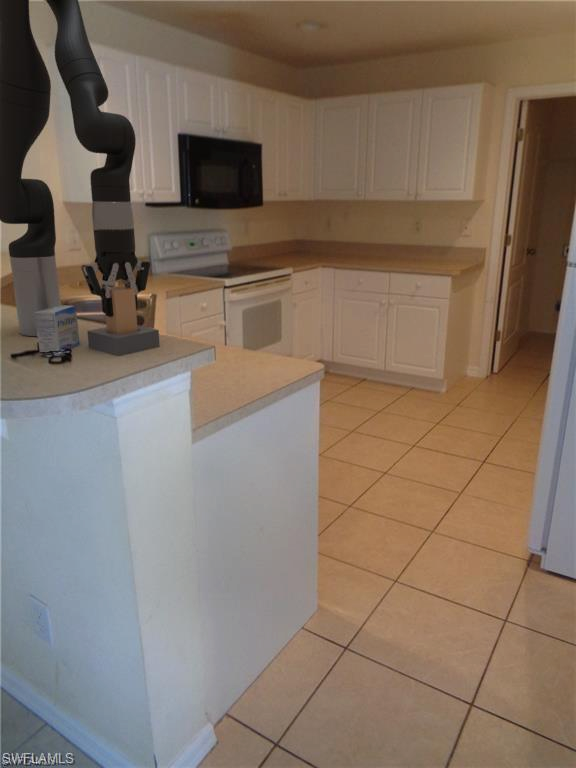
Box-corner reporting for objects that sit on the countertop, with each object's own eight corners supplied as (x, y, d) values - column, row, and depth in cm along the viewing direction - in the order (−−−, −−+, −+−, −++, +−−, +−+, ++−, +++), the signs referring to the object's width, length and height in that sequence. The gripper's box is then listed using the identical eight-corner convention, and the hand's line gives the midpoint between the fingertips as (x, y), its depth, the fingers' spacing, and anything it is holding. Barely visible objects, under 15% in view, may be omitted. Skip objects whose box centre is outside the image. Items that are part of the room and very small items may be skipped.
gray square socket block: (89, 349, 115) (87, 330, 114) (130, 341, 123) (128, 323, 121) (118, 358, 109) (116, 338, 108) (159, 348, 117) (158, 329, 115)
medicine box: (59, 356, 110) (54, 312, 108) (39, 355, 111) (33, 311, 108) (80, 346, 118) (76, 305, 115) (61, 345, 119) (56, 304, 116)
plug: (107, 337, 115) (103, 288, 112) (127, 333, 118) (123, 286, 115) (118, 341, 112) (113, 290, 109) (138, 337, 115) (134, 288, 112)
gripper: (136, 224, 115) (142, 307, 121) (69, 226, 106) (78, 316, 111) (156, 226, 110) (161, 312, 116) (87, 228, 101) (96, 322, 106)
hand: (120, 314), depth 113 cm, fingers closed on plug, 4 cm apart
